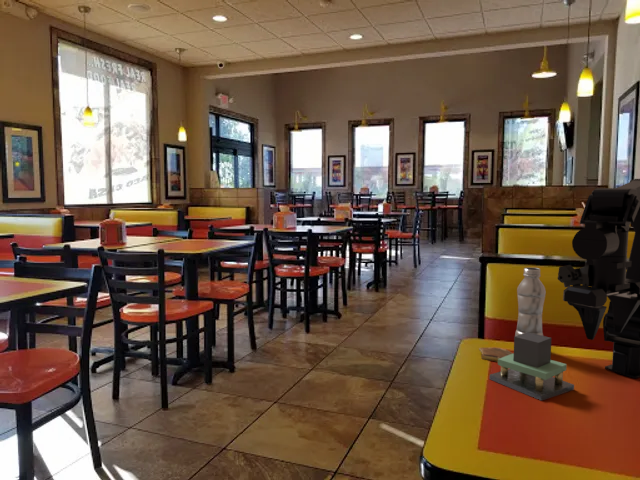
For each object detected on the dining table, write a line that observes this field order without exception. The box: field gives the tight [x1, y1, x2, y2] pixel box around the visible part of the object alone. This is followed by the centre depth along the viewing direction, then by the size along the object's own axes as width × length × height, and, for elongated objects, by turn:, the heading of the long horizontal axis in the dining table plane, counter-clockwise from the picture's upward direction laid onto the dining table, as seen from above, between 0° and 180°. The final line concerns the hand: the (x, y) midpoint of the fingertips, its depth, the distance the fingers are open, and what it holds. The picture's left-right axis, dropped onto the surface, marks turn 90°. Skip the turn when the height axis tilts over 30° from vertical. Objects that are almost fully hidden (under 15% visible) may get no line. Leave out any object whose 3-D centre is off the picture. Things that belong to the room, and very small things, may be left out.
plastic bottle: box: [514, 267, 547, 337], centre depth 119 cm, size 6×7×20 cm
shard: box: [478, 347, 514, 363], centre depth 112 cm, size 11×8×2 cm
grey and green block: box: [497, 332, 567, 380], centre depth 98 cm, size 8×10×6 cm
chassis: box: [488, 366, 575, 402], centre depth 98 cm, size 10×12×4 cm
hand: (604, 335), depth 94 cm, fingers open, 9 cm apart
